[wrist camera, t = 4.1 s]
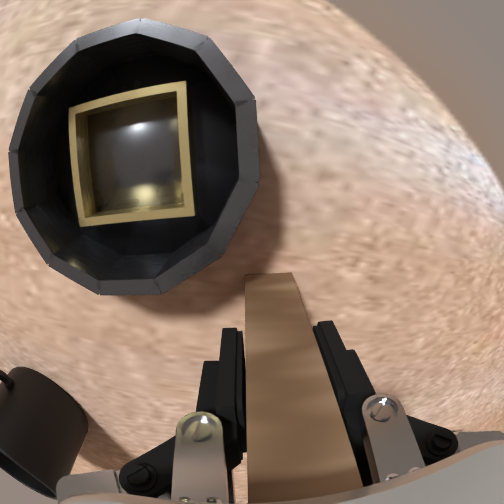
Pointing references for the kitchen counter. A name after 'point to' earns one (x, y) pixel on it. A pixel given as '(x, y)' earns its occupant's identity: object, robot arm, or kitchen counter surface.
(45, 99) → the dark grey round tray
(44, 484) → the mug
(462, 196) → the kitchen counter surface
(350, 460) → the brown rectangular bar
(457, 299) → the kitchen counter surface
